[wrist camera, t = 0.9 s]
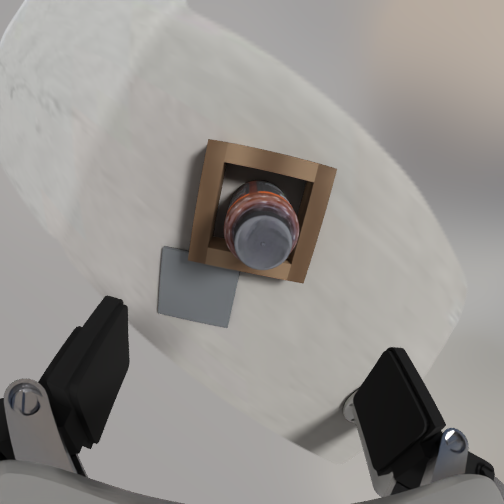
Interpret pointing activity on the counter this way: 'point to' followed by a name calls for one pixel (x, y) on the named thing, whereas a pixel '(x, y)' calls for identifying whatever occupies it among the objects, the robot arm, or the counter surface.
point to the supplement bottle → (260, 225)
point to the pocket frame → (316, 174)
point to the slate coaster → (195, 289)
